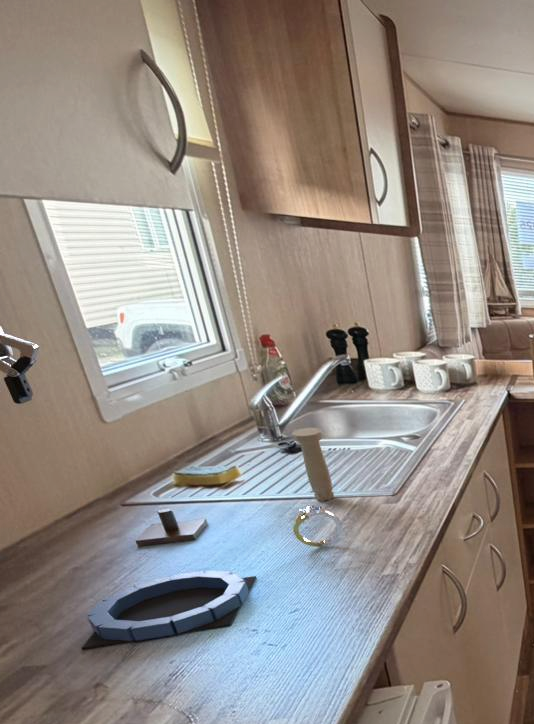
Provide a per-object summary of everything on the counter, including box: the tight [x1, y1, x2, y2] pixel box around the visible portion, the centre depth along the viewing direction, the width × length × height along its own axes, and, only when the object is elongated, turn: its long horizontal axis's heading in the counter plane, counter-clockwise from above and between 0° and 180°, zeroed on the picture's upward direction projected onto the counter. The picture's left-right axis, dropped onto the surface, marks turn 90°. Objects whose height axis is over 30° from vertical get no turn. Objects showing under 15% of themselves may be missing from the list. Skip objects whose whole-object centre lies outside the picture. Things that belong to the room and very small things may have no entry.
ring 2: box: [292, 504, 343, 548], centre depth 116 cm, size 7×3×8 cm, turn 119°
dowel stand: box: [135, 507, 209, 547], centre depth 118 cm, size 8×8×5 cm
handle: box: [291, 427, 335, 502], centre depth 135 cm, size 5×6×15 cm
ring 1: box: [87, 570, 250, 642], centre depth 96 cm, size 17×17×2 cm
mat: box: [81, 575, 257, 651], centre depth 97 cm, size 16×16×1 cm
